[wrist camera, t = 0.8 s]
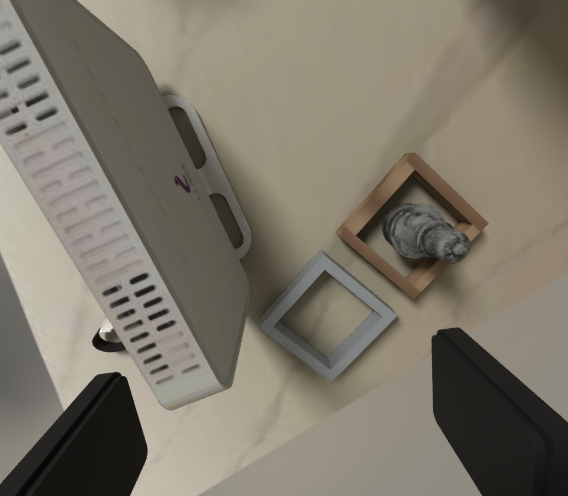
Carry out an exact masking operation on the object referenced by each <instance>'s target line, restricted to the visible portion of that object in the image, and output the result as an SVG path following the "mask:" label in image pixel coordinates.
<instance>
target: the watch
mask: <svg viewBox="0 0 568 496" xmlns="http://www.w3.org/2000/svg"><path fill="white" fill-rule="evenodd" d="M112 329H113V327H112V325H111V323H110V322H109V320H108V318H107V319H105V321H104V322H103V324H102V326H101V327H100V329H99V330H98V331H97V333H96V335H95V336H94V338H93V340H92V343H93V346H94V347H95V348H96V349H98V350H100V351H104V352H117V351H121V350H125V349H126V348H125V346H124V344H123V343H122V342H118V343H113V342H108V341H105V340H103V339H102V338H101V337H100V335H99V333H100V332H102V331H103V332H111V330H112Z"/></svg>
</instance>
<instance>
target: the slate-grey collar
mask: <svg viewBox="0 0 568 496" xmlns="http://www.w3.org/2000/svg"><path fill="white" fill-rule="evenodd" d="M324 270H326V271H327V272H328V273H330V274H331V275H332V276H333V277H334V278H336V279H337V280H338V281H339V282H341V283H342V284H343V285H344V286H346V287H347V288H348V289H349V290H350V291H352V292H353V293H354V294H355V295H357V296H358V297H359V298H360V299H361V300H363V301H364V302H365V303H366V304H368V305H369V306H370V307H371V308H372V309H374V311H373V312H372V313H371V314H370V315H369V316H368V317H367V318H366V319H365V320H364V321H363V322H362V323H361V324H360V325H359V326H358V327H357V328H356V329H355V330H354V331H353V332H352V333H351V334H350V335H349V336H348V337H347V338H346V339H345V341H344V342H343V343H342V344H341V345H340V346H339V347H338V348H337V349H336V350H335V351H334V352H333V353H332V354H331V355H330V356H329V357H328V358H327V357H326V356H324V355H323V354H322V353H320V352H319V351H318V350H316V349H315V348H314V347H312V346H311V345H310V344H308V343H307V342H306V341H304V340H303V339H302V338H300V337H299V336H298V335H296V334H295V333H294V332H292V331H291V330H290V329H288V328H287V327H286V326H284V325H283V324H282V323H280V322H279V320H280V319H281V317H282V316H283V315H284V314H285V313H286V312H287V311H288V310H289V309H290V308H291V306H292V305H293V304H294V303H295V302H296V301H297V300H298V299H299V298H300V296H301V295H302V294H303V293H304V292H305V291H306V290H307V289H308V288H309V286H310V285H311V284H312V283H313V282H314V281H315V280H316V279H317V278H318V276H319V275H320V274H321V273H322V272H323V271H324ZM396 317H397V315H396V313H395V312H394V311H393V310H392V308H391V307H390V306H389V305H387V304H386V303H385V302H384V301H383V300H381V299H380V298H379V297H378V296H377V295H375V294H374V293H373V292H372V291H371V290H369V289H368V288H367V287H366V286H365V285H363V284H362V283H361V282H360V281H359V280H357V279H356V278H355V277H354V276H352V275H351V274H350V273H349V272H348V271H346V270H345V269H344V268H343V267H342V266H340V265H339V264H338V263H337V262H336V261H334V260H333V259H332V258H331V257H330V256H328V255H327V254H326V253H325V252H324V251H322V250H320V251H319V252H318V253H317V254H316V255H315V256H314V257H313V259H312V260H311V261H310V262H309V263H308V264H307V265H306V267H305V268H304V269H303V270H302V271H301V272H300V273H299V274H298V276H297V277H296V278H295V279H294V280H293V281H292V282H291V283H290V285H289V286H288V287H287V288H286V289H285V290H284V291H283V292H282V294H281V295H280V296H279V297H278V298H277V299H276V300H275V301H274V303H273V304H272V305H271V306H270V307H269V308H268V309H267V311H266V312H265V313H264V314H263V315H262V316H261V317H260V319H259V327H258V328H259V329H260V330H261V331H263V332H264V333H266V334H267V335H268V336H270V337H271V338H272V339H274V340H275V341H276V342H278V343H279V344H280V345H282V346H283V347H284V348H286V349H287V350H289V351H290V352H291V353H293V354H294V355H295V356H297V357H298V358H299V359H301V360H302V361H303V362H305V363H306V364H307V365H309V366H310V367H312V368H313V369H314V370H316V371H317V372H318V373H320V374H321V375H322V376H324V377H325V378H326V379H328V380H329V381H330V382H332V381H333V380H334V379H335V378H336V377H337V376H338V375H339V374H340V373H341V372H342V371H343V370H344V369H345V368H346V367H347V366H348V365H349V364H350V363H351V362H352V361H353V360H354V359H355V358H356V357H357V356H358V355H359V354H360V353H361V352H362V351H363V350H364V349H365V348H366V347H367V346H368V345H369V344H370V343H371V342H372V341H373V340H374V339H375V338H376V337H377V336H378V335H379V334H380V333H381V332H382V331H383V330H384V329H385V328H386V327H387V326H388V325H389V324H390V323H391V322H392V321H393V320H394V319H395V318H396Z"/></svg>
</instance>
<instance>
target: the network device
mask: <svg viewBox="0 0 568 496" xmlns="http://www.w3.org/2000/svg"><path fill="white" fill-rule="evenodd" d="M173 107H181V108H183V109H184V110H185V112H186V113H187V115H188V117H189V120H190V122H191V124H192V126H193V128H194V130H195V133H196V135H197V137H198V139H199V141H200V143H201V146H202V148H203V150H204V152H205V155H206V162H205V164H204V166H203V167H202V168H200V169H196V167H195V165H194V163H193V161H192V159H191V157H190V155H189V153H188V150H187V148H186V146H185V144H184V142H183V140H182V138H181V136H180V134H179V132H178V129H177V127H176V125H175V123H174V121H173V119H172V117H171V115H170V113H169V110H168V109H171V108H173ZM0 144H1V145H2V147H3V149H4V150H5V152H6V154H7V155H8V157H9V159H10V160H11V162H12V163H13V165H14V167H15V168H16V170H17V172H18V173H19V175H20V176H21V178H22V180H23V181H24V183H25V185H26V186H27V188H28V190H29V191H30V193H31V194H32V196H33V198H34V199H35V201H36V203H37V204H38V206H39V207H40V209H41V211H42V212H43V214H44V216H45V217H46V219H47V221H48V222H49V224H50V225H51V227H52V229H53V230H54V232H55V234H56V235H57V237H58V238H59V240H60V242H61V243H62V245H63V247H64V248H65V250H66V252H67V253H68V255H69V256H70V258H71V260H72V261H73V263H74V265H75V266H76V268H77V269H78V271H79V273H80V274H81V276H82V278H83V279H84V281H85V282H86V284H87V286H88V287H89V289H90V291H91V292H92V294H93V296H94V297H95V299H96V300H97V302H98V304H99V305H100V307H101V309H102V310H103V312H104V313H105V315H106V317H107V318H108V320H109V322H110V323H111V325H112V327H113V328H114V330H115V331H116V333H117V335H118V336H119V338H120V340H121V341H122V343H123V344H124V346H125V348H126V349H127V351H128V353H129V354H130V356H131V358H132V359H133V361H134V362H135V364H136V366H137V367H138V369H139V371H140V372H141V374H142V375H143V377H144V379H145V380H146V382H147V384H148V385H149V387H150V389H151V390H152V392H153V393H154V395H155V397H156V398H157V400H158V401H159V403H160V404H161V405H162V406H163V407H164V408H165V409H167V410H174V409H177V408H180V407H182V406H185V405H187V404H190V403H193V402H195V401H198V400H200V399H203V398H206V397H208V396H211V395H213V394H216V393H219V392H221V391H224V390H227V389H229V388H230V387H231V386H232V383H233V379H234V374H235V370H236V365H237V360H238V355H239V351H240V346H241V341H242V336H243V332H244V327H245V322H246V317H247V313H248V308H249V303H250V298H251V293H252V290H251V285H250V282H249V279H248V277H247V275H246V273H245V270H244V268H243V266H242V264H241V262H240V260H239V259H241V258H242V257H243V256H244V255H245V254H246V253H247V252H248V250H249V248H250V245H251V241H252V234H251V230H250V227H249V225H248V223H247V221H246V218H245V216H244V214H243V212H242V210H241V207H240V205H239V203H238V201H237V199H236V196H235V194H234V192H233V190H232V188H231V185H230V183H229V181H228V179H227V177H226V174H225V172H224V170H223V168H222V166H221V163H220V161H219V159H218V157H217V155H216V152H215V150H214V148H213V146H212V144H211V141H210V139H209V137H208V135H207V133H206V130H205V128H204V126H203V124H202V122H201V119H200V117H199V115H198V113H197V111H196V110H195V108H194V107H193V106H192V105H191V104H190V103H189V102H187V101H186V100H185V99H183V98H180V97H178V96H174V95H165V96H161V94H160V92H159V89H158V87H157V85H156V83H155V81H154V79H153V77H152V75H151V73H150V71H149V69H148V67H147V65H146V64H145V62H144V60H143V59H142V57H141V56H140V55H139V54H138V52H137V51H136V50H135V49H133V48H132V47H131V46H130V45H129V44H128V43H126V42H125V41H124V40H123V39H122V38H120V37H119V36H118V35H117V34H116V33H115V32H113V31H112V30H111V29H110V28H109V27H107V26H106V25H105V24H104V23H103V22H102V21H100V20H99V19H98V18H97V17H96V16H95V15H93V14H92V13H91V12H90V11H89V10H87V9H86V8H85V7H84V6H83V5H82V4H80V3H79V2H78V1H77V0H0ZM213 193H219V194H221V195H223V196H224V197H225V198H226V200H227V202H228V204H229V206H230V208H231V210H232V213H233V215H234V217H235V219H236V221H237V223H238V226H239V228H240V230H241V232H242V234H243V237H244V241H243V244H242V245H241V246H240V247H238V248H236V249H234V247H233V245H232V243H231V241H230V239H229V237H228V235H227V233H226V230H225V228H224V226H223V224H222V222H221V220H220V218H219V216H218V214H217V212H216V209H215V207H214V205H213V203H212V201H211V199H210V197H209V195H211V194H213Z"/></svg>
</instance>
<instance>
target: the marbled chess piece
mask: <svg viewBox="0 0 568 496" xmlns="http://www.w3.org/2000/svg"><path fill="white" fill-rule="evenodd" d="M382 230H383V235H384V237H385V239H386V240H387V241H388V242H389V243H390V244H391V245H393V246H394V248H395V250H396V251H397V252H398V253H399V254H401V255H403V256H405V257H407V258H411V259H420V258H424V257H428V258H438V259H440V260H442V261H444V262H447V263H455V262H459V261H460V260H462V259H463V258H465V257H466V255H467V254H468V252H469V250H470V240H469V238H468V237H467V235H466V234H464V233H463V232H461V231H458V230H455V229H454V228H453V227H452V226H451V225H450V224H449V223H447V222H445V219H444V217H443V215H442V214H441V212H440V211H439V210H438V209H436V208H435V207H433V206H431V205H427V204H411V203H403V204H400V205H397V206H395V207H394V208H392V209H391V210H390V211H389V212H388V213H387V215H386V216H385V218H384V221H383V227H382Z"/></svg>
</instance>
